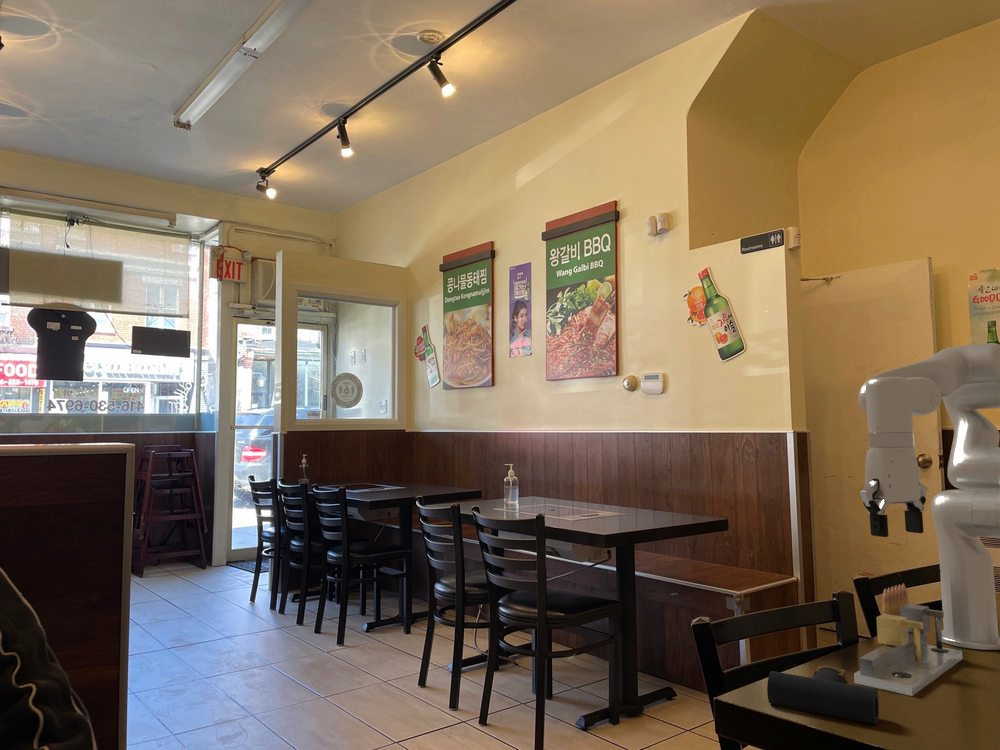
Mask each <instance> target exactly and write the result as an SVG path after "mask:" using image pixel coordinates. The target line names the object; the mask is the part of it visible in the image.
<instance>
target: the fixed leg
mask: <svg viewBox="0 0 1000 750" xmlns="http://www.w3.org/2000/svg"><path fill="white" fill-rule="evenodd" d="M900 616H902V617H907V620H909V621H916V622H922V623H923V629H919V630H920V634H925V633H926V634H928V633H929V632H931V622H930V616H931V617H934V626H935V627H934V628H935V640H936V641H935V643H936V645H935V646H937V648H938V649H943V642H942V630H943V629H942V620H941V619H943V617H944V611H943V610H942V611H941V610H938V609H937V610H935V609H930V606H926V605H918V604H913V603H909V604H905V605H902V606H900ZM908 632H913V628H911V627H908Z"/></svg>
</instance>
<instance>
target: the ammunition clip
mask: <svg viewBox="0 0 1000 750" xmlns="http://www.w3.org/2000/svg"><path fill="white" fill-rule="evenodd" d="M905 604H910V603H909V597H908V591H907V587H906V584H905V583H904V582H903V583H902V585H901V584H898V585H895V586H891V587H888V588H884V589H883V593H882V610H881V611H882V612H881V613H882V614H889V615H895V616H900V606H902V605H905ZM882 614H881V615H882ZM883 645H884V644H882V643H881V646H883Z"/></svg>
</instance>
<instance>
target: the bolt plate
mask: <svg viewBox="0 0 1000 750" xmlns="http://www.w3.org/2000/svg"><path fill="white" fill-rule="evenodd" d="M927 634H928V633H925V634H920V647H921V663H917V662H915V653H914V636H913V632H908V639H909V643H908V644H906V645H904V646H902V647H899V646H893V645H888V644H884V645H883V646H882V645H881V646H879V647H877V648H875V649H873V650H872V651H869V652H868V653H866V654H864V655H862V656H861V657H859V658H858V659H859V661H858V662H859V670H858V671H856V672H854V673H853V678H854V679H853V680H854V682H853V683H854V684H855V685H860V686H861V685H862V686H864V687H869V688H874V689H879V690H884V691H888V692H892V693H896V694H901V695H906V696H910V697H913V696H915V695H916V694H917V693H919V692H920V691H921V690H923V689H924V688H925V687H927V686H928V685H930V683H933V682H934V681H935V680H937V679H938V678H939V677H940V676H942V675H944V673H946V672H947V671H948V670H950V669H951V668H953V667H954V666H956V665H957V664H958V663H959V662H961V661H962V660H963V658H964V657H963V650H961V649H955V648H949V647H943V649H938V648H937V646H936V645H933V644H928V637H927V636H928V635H927Z"/></svg>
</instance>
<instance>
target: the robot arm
mask: <svg viewBox="0 0 1000 750" xmlns="http://www.w3.org/2000/svg"><path fill="white" fill-rule="evenodd" d="M857 399H858V403H859V404H858V405H859V407H860V409H861V411H863V412H864V414H866V416H867V417H866V419H867V430H868V431H867V432H868V435H867V436H868V450H867V451H866V456H865V467H864V487H863V488H861V490H860V492H859V495H860V497H861V499H862V502H863V506H864V508H865V509H866V513H867V514H869V524H870V526H869V527H870V535H871V536H873V537H882V538H888V537H889V525H888V524H889V520H888V514H885V512H886V510H887V509H888V507H889V504H890V505H892V504H895V505H896V504H903V506H904V507H905V509H906V510H905V509H904V524H905V525H904V526H905V531H906V532H907V533H914V534H923V533H924V521H923V520H924V519H923V512H924V511H925V506H924V505H925V503H926V501H927V500H926V499H927V498H926V497H927V493H928V487H927V486H926V485H924V484H923V483H921V476H920V475H921V474H920V470H919V469H920V468H919V464H918V463H919V462H918V458H917V455H916V451H915V450H916V449H915V436H914V422H913V421H914V420H913V417H915V416H917V417H919V416H926V415H930V414H933V413H934V412H935V411H937V410H938V409H939V407H940V405H941V403H942V401H943V404H944V407H945V409H946V412H947V414H948V416H949V419H950V421H951V425H952V427H953V439H952V444H951V449H950V454H949V459H948V463H947V479H948V481H949V483H950V484H951V485H952V486H953V487H954V488H957V489H946V490H943V491H939V492H938V493H937V494H935V495H934V496H933V498H932V499H931V504H930V511H931V512H930V513H931V517H932V521H933V525H934V528H935V534H936V539H937V545H938V554H939V555H938V556H939V557H938V558H939V560H938V561H939V570H940V571H939V574H940V587H941V590H940V591H941V604H942V605H941V606H942V607H941V609H942V611H944V617H943V618H942V621H943V629H941V630H942V643H944V644H947V645H951V646H955V647H958V648H965V649H971V650H980V651H982V650H984V651H998V650H1000V635H999V630H998V617H997V614H998V613H997V602H996V601H997V600H996V589H995V588H996V587H995V586H996V585H995V573H994V560H993V556H992V555H991V553H990V551H989V550H988V548H987V547H986V546H985V545H984V544H983V542H982V541H981V540H980V539H979V538H990V539H991V538H993V539H994V538H995V539H1000V447H999V445H1000V444H999V443H1000V432H999V429H998V428H997V426H996V425H994V424H993V422H992V421H991V420H990V419H989V418H987V417H986V416H985V415H984V414H982V412H980V411H979V410H980V409H981V410H988V409H991V410H992V409H993V410H994V409H1000V344H999V343H995V342H986V343H978V344H969V345H968V344H967V345H957V346H950V347H945V348H944V349H942V350H940V351H937V352H936V353H935V354H933V355H931V356H929V357H927V358H925V359H924V360H923V361H922V360H921V361H919V362H914V363H911V364H908V365H904V366H901V367H898V368H894V369H890V370H887V371H885V372H884V371H883V372H881V373H878V374H876V375H874V376H873V377H870V378H869V379H867V380H866V381H865V382H864V383H863V384H862V385H861V387H860V389H859V391H858V398H857Z"/></svg>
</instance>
